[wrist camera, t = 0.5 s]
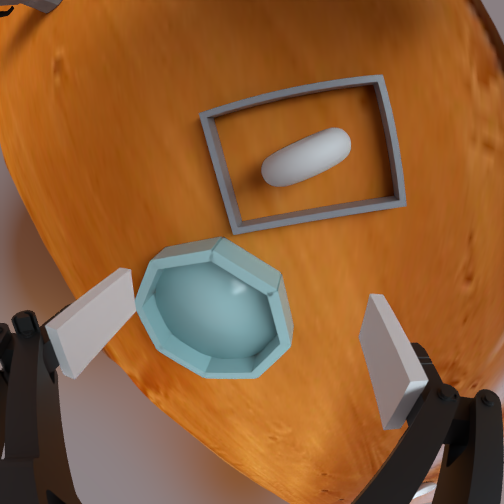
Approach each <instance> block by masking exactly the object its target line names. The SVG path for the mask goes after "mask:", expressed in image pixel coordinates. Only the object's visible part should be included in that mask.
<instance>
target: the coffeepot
mask: <svg viewBox="0 0 504 504" xmlns="http://www.w3.org/2000/svg"><path fill="white" fill-rule="evenodd" d="M61 1H62V0H0V6H2V5H18V4H19V3H22V4H24V5H27V6H29V7H32V8H35V9H37V10H39V11H42V12H44V13H46V14H47V13H48V12H50V11H52V10H53V9H54V8H56V7H57V6H58V5H59V4H60V3H61ZM13 9H14V7H13V6H12V7H11V8H10V9H9V10H8V11H0V17H4V16H8V15H9V14H10V13H11V12H12V11H13Z"/></svg>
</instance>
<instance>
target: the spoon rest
mask: <svg viewBox="0 0 504 504" xmlns="http://www.w3.org/2000/svg"><path fill="white" fill-rule="evenodd" d="M436 486H437V484H435V483H433V482H426V483H422V484H421V486H420V487H419V489H418V491H417V492H416V494H415V495H414V497H413V499H414V498H416V497H418V496H421V495H423V494H426V493H428V492H430V491H432V490H434V489H435V488H436Z"/></svg>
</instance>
